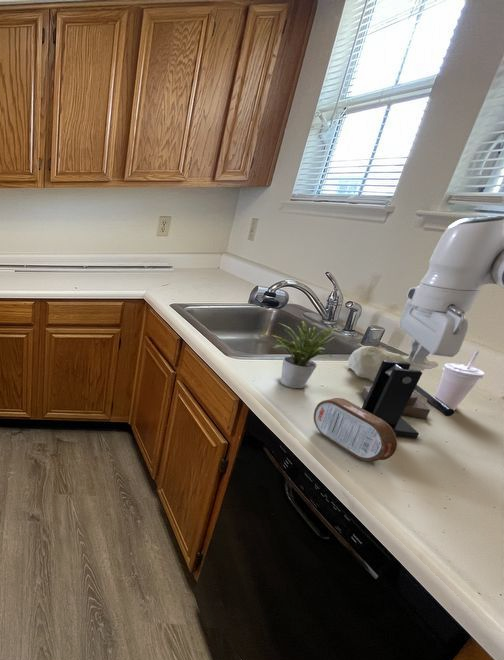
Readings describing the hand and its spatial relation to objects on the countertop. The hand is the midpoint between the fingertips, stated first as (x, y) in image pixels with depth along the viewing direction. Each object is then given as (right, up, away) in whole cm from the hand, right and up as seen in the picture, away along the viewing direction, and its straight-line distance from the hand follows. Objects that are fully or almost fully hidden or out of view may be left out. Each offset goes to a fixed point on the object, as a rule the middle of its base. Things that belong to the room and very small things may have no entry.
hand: (414, 360), depth 92 cm
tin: (-24, -17, -10) cm, 31 cm away
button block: (0, -10, +5) cm, 12 cm away
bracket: (-11, -14, -2) cm, 18 cm away
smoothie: (+12, -11, +5) cm, 17 cm away
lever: (-7, -7, -7) cm, 12 cm away
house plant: (-16, -5, +16) cm, 23 cm away
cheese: (+9, -4, +18) cm, 20 cm away
